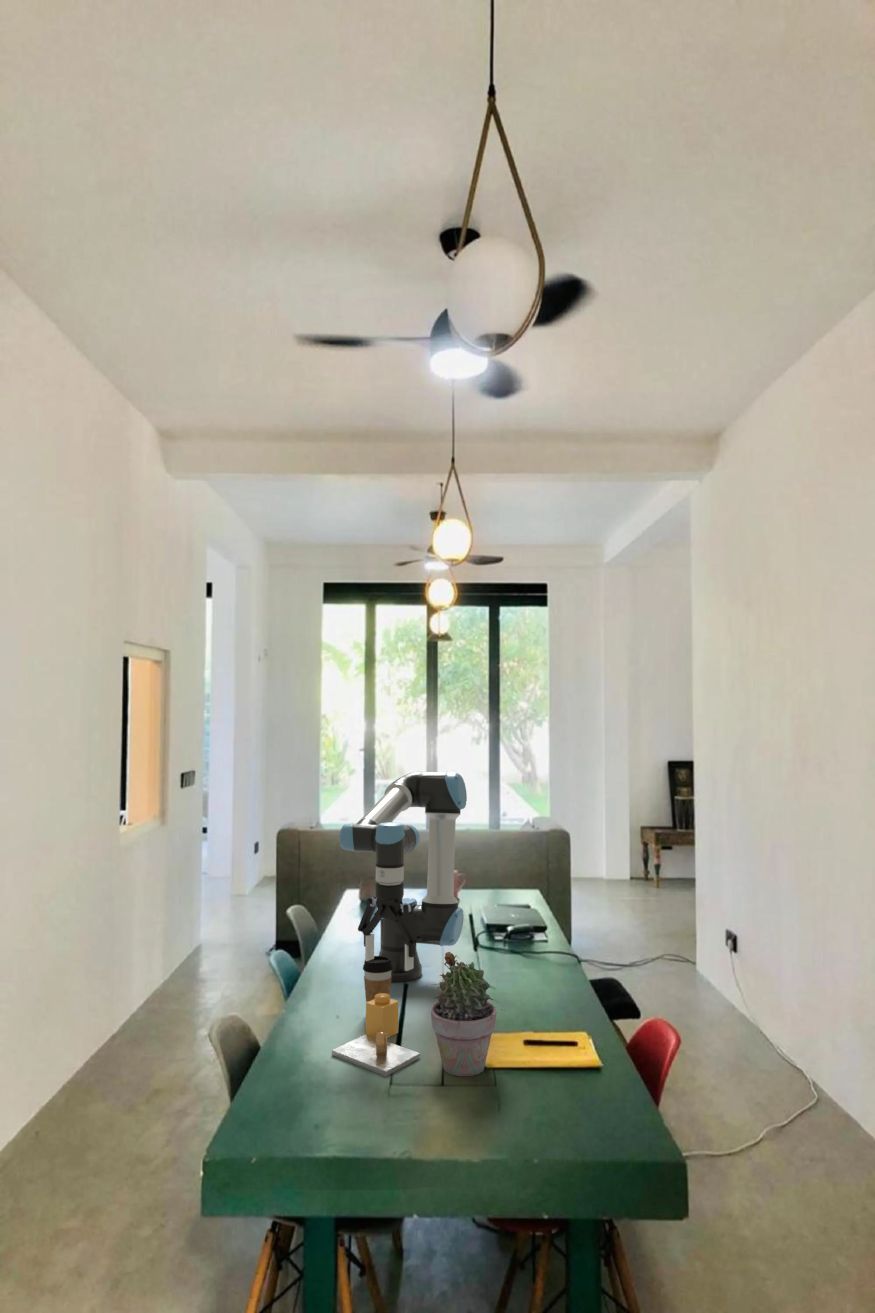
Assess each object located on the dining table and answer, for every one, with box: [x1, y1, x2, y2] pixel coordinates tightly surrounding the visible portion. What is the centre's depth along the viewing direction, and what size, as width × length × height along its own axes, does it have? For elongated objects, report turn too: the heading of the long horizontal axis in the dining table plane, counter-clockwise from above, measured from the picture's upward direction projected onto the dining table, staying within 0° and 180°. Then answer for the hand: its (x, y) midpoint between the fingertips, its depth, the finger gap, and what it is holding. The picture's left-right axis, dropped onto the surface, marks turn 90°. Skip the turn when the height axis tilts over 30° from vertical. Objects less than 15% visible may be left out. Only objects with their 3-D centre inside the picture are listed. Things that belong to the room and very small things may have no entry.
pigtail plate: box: [331, 1030, 421, 1078], centre depth 184 cm, size 18×12×6 cm, turn 51°
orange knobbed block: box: [365, 993, 399, 1039], centre depth 197 cm, size 6×6×10 cm
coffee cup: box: [362, 955, 393, 1002], centre depth 211 cm, size 8×8×15 cm
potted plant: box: [424, 951, 506, 1077], centre depth 179 cm, size 18×20×25 cm
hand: (389, 964), depth 199 cm, fingers open, 13 cm apart
